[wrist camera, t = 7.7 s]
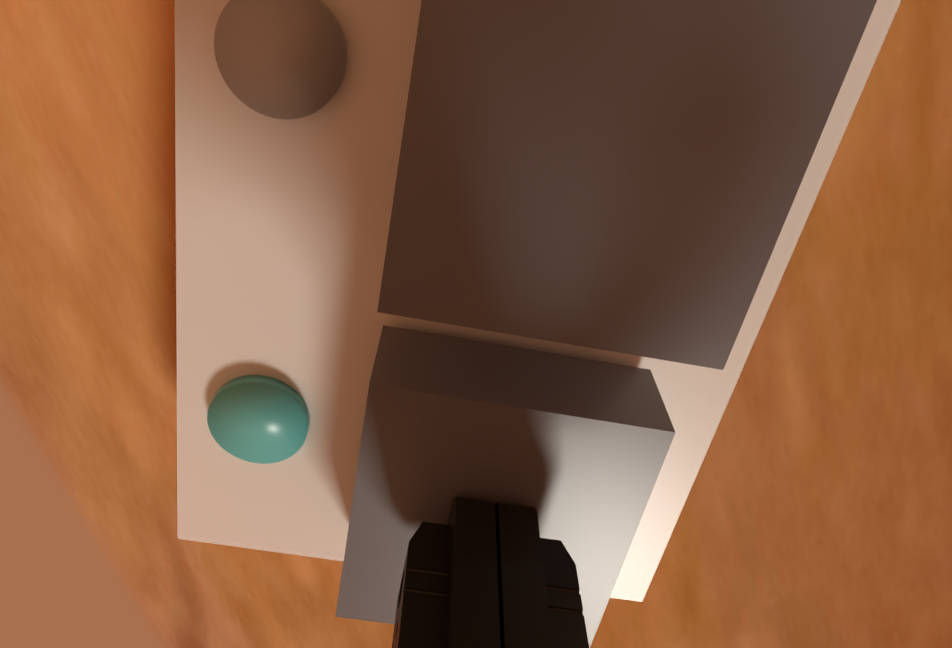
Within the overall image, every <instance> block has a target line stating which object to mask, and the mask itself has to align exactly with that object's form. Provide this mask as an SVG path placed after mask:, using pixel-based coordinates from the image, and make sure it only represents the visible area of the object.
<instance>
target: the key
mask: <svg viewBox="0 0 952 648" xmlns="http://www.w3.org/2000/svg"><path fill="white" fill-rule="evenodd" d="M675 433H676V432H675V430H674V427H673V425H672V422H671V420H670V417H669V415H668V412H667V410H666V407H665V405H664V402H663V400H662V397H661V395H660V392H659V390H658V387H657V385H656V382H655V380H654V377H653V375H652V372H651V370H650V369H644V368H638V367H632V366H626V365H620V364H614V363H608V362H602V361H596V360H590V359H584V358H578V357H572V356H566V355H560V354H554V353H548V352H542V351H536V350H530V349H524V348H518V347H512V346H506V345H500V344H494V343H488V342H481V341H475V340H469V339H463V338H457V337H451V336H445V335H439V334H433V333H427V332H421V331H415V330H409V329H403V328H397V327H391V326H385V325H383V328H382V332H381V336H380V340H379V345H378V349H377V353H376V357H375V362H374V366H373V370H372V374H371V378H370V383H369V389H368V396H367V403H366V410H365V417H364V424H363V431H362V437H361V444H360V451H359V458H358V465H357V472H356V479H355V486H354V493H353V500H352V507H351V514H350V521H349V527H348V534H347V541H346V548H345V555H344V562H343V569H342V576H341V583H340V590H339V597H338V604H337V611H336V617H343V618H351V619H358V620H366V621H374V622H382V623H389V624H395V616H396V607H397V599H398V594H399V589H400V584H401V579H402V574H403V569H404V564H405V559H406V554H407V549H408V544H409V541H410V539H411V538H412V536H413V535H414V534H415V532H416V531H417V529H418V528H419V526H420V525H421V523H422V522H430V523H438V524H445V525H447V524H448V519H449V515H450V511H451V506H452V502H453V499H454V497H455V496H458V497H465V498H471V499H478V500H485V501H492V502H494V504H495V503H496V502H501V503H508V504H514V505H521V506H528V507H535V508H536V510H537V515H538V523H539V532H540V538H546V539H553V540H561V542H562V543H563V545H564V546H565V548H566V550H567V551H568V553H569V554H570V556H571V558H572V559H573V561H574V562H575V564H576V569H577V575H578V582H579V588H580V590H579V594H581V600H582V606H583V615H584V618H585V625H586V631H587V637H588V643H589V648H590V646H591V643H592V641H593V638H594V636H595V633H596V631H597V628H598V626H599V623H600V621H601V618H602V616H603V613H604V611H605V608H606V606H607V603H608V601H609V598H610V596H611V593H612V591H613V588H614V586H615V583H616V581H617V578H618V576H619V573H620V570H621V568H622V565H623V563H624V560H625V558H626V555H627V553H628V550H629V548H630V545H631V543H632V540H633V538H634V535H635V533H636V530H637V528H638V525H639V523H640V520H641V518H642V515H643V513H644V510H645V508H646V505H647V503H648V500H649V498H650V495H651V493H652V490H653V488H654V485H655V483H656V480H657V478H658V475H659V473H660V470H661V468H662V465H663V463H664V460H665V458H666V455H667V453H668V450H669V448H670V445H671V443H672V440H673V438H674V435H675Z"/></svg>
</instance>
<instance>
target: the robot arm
mask: <svg viewBox="0 0 952 648" xmlns="http://www.w3.org/2000/svg"><path fill="white" fill-rule="evenodd" d="M579 590H580V588H579V582H578V575H577V569H576V564H575V562H574V561H573V559H572V558H571V556H570V554H569V553H568V551H567V550H566V548H565V546H564V545H563V543H562V542H561V540H553V539H546V538H540V532H539V523H538V515H537V510H536V508H535V507H528V506H521V505H514V504H508V503H501V502H496V503H495V504H494V502H492V501H485V500H478V499H471V498H465V497H458V496H455V497H454V499H453V502H452V506H451V511H450V515H449V519H448V524H447V525H445V524H438V523H430V522H422V523H421V525H420V526H419V528H418V529H417V531H416V532H415V534H414V535H413V536H412V538H411V539H410V541H409V544H408V549H407V554H406V559H405V564H404V569H403V574H402V579H401V584H400V589H399V594H398V599H397V607H396V616H395V625H394V634H393V642H392V648H589V643H588V637H587V631H586V625H585V618H584V615H583V606H582V600H581V594H579Z"/></svg>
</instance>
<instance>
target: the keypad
mask: <svg viewBox="0 0 952 648" xmlns="http://www.w3.org/2000/svg"><path fill="white" fill-rule="evenodd" d="M421 1H422V0H175V169H176V339H177V510H178V539H184V540H191V541H198V542H206V543H213V544H220V545H228V546H235V547H242V548H250V549H257V550H264V551H272V552H279V553H286V554H294V555H301V556H309V557H316V558H323V559H331V560H338V561H344V555H345V548H346V541H347V534H348V527H349V521H350V514H351V507H352V500H353V493H354V486H355V479H356V472H357V465H358V458H359V451H360V444H361V437H362V431H363V424H364V417H365V410H366V403H367V396H368V389H369V383H370V378H371V374H372V370H373V366H374V362H375V357H376V353H377V349H378V345H379V340H380V336H381V332H382V328H383V325H385V326H391V327H397V328H403V329H409V330H415V331H421V332H427V333H433V334H439V335H445V336H451V337H457V338H463V339H469V340H475V341H481V342H488V343H494V344H500V345H506V346H512V347H518V348H524V349H530V350H536V351H542V352H548V353H554V354H560V355H566V356H572V357H578V358H584V359H590V360H596V361H602V362H608V363H614V364H620V365H626V366H632V367H638V368H644V369H650V370H651V372H652V375H653V377H654V380H655V382H656V385H657V387H658V390H659V392H660V395H661V397H662V400H663V402H664V405H665V407H666V410H667V412H668V415H669V417H670V420H671V422H672V425H673V427H674V430H675V432H676V433H675V435H674V438H673V440H672V443H671V445H670V448H669V450H668V453H667V455H666V458H665V460H664V463H663V465H662V468H661V470H660V473H659V475H658V478H657V480H656V483H655V485H654V488H653V490H652V493H651V495H650V498H649V500H648V503H647V505H646V508H645V510H644V513H643V515H642V518H641V520H640V523H639V525H638V528H637V530H636V533H635V535H634V538H633V540H632V543H631V545H630V548H629V550H628V553H627V555H626V558H625V560H624V563H623V565H622V568H621V570H620V573H619V576H618V578H617V581H616V583H615V586H614V588H613V591H612V593H611V596H610V598H617V599H625V600H632V601H639V602H642V601H643V599H644V596H645V594H646V592H647V589H648V587H649V585H650V582H651V580H652V578H653V576H654V573H655V571H656V569H657V566H658V564H659V562H660V559H661V557H662V555H663V552H664V550H665V548H666V545H667V543H668V541H669V538H670V536H671V534H672V531H673V529H674V527H675V524H676V522H677V520H678V517H679V515H680V513H681V511H682V508H683V506H684V504H685V501H686V499H687V497H688V494H689V492H690V490H691V487H692V485H693V483H694V480H695V478H696V476H697V473H698V471H699V469H700V466H701V464H702V462H703V459H704V457H705V455H706V452H707V450H708V448H709V445H710V443H711V441H712V439H713V436H714V434H715V432H716V429H717V427H718V425H719V422H720V420H721V418H722V415H723V413H724V411H725V408H726V406H727V404H728V401H729V399H730V397H731V394H732V392H733V390H734V387H735V385H736V383H737V380H738V378H739V376H740V374H741V371H742V369H743V367H744V364H745V362H746V360H747V357H748V355H749V353H750V350H751V348H752V346H753V343H754V341H755V339H756V336H757V334H758V332H759V329H760V327H761V325H762V322H763V320H764V318H765V315H766V313H767V311H768V309H769V306H770V304H771V302H772V299H773V297H774V295H775V292H776V290H777V288H778V285H779V283H780V281H781V278H782V276H783V274H784V271H785V269H786V267H787V264H788V262H789V260H790V257H791V255H792V253H793V250H794V248H795V246H796V244H797V241H798V239H799V237H800V234H801V232H802V230H803V227H804V225H805V223H806V220H807V218H808V216H809V213H810V211H811V209H812V206H813V204H814V202H815V199H816V197H817V195H818V192H819V190H820V188H821V185H822V183H823V181H824V178H825V176H826V174H827V172H828V169H829V167H830V165H831V162H832V160H833V158H834V155H835V153H836V151H837V148H838V146H839V144H840V141H841V139H842V137H843V134H844V132H845V130H846V127H847V125H848V123H849V120H850V118H851V116H852V113H853V111H854V109H855V107H856V104H857V102H858V100H859V97H860V95H861V93H862V90H863V88H864V86H865V83H866V81H867V79H868V76H869V74H870V72H871V69H872V67H873V65H874V62H875V60H876V58H877V55H878V53H879V51H880V48H881V46H882V44H883V42H884V39H885V37H886V35H887V32H888V30H889V28H890V25H891V23H892V21H893V18H894V16H895V14H896V11H897V9H898V7H899V4H900V2H901V0H877V2H876V4H875V7H874V9H873V11H872V14H871V16H870V19H869V21H868V23H867V26H866V28H865V31H864V33H863V35H862V38H861V40H860V43H859V45H858V47H857V50H856V52H855V55H854V57H853V60H852V62H851V64H850V67H849V69H848V72H847V74H846V76H845V79H844V81H843V84H842V86H841V88H840V91H839V93H838V96H837V98H836V100H835V103H834V105H833V108H832V110H831V112H830V115H829V117H828V120H827V122H826V124H825V127H824V129H823V132H822V134H821V136H820V139H819V141H818V144H817V146H816V148H815V151H814V153H813V156H812V158H811V160H810V163H809V165H808V168H807V170H806V172H805V175H804V177H803V180H802V182H801V184H800V187H799V189H798V192H797V194H796V196H795V199H794V201H793V204H792V206H791V208H790V211H789V213H788V216H787V218H786V220H785V223H784V225H783V228H782V230H781V232H780V235H779V237H778V240H777V242H776V244H775V247H774V249H773V252H772V254H771V257H770V259H769V261H768V264H767V266H766V269H765V271H764V273H763V276H762V278H761V281H760V283H759V285H758V288H757V290H756V293H755V295H754V297H753V300H752V302H751V305H750V307H749V309H748V312H747V314H746V317H745V319H744V321H743V324H742V326H741V329H740V331H739V333H738V336H737V338H736V341H735V343H734V345H733V348H732V350H731V353H730V355H729V357H728V360H727V362H726V365H725V367H724V369H723V370H720V369H714V368H708V367H702V366H696V365H690V364H684V363H678V362H672V361H666V360H660V359H654V358H648V357H642V356H636V355H630V354H624V353H618V352H612V351H606V350H600V349H594V348H588V347H582V346H576V345H571V344H565V343H559V342H553V341H547V340H541V339H535V338H529V337H523V336H517V335H511V334H505V333H499V332H493V331H487V330H481V329H475V328H469V327H463V326H457V325H451V324H445V323H439V322H433V321H427V320H421V319H415V318H409V317H403V316H397V315H392V314H386V313H380V312H377V310H378V303H379V296H380V289H381V282H382V275H383V268H384V261H385V254H386V247H387V240H388V233H389V226H390V219H391V212H392V205H393V198H394V191H395V184H396V177H397V170H398V163H399V156H400V149H401V142H402V135H403V128H404V121H405V114H406V107H407V100H408V93H409V86H410V79H411V72H412V65H413V58H414V50H415V43H416V36H417V29H418V22H419V15H420V8H421Z"/></svg>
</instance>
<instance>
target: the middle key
mask: <svg viewBox="0 0 952 648" xmlns="http://www.w3.org/2000/svg"><path fill="white" fill-rule="evenodd" d="M876 2H877V0H422V1H421V8H420V15H419V22H418V29H417V36H416V43H415V50H414V58H413V65H412V72H411V79H410V86H409V93H408V100H407V107H406V114H405V121H404V128H403V135H402V142H401V149H400V156H399V163H398V170H397V177H396V184H395V191H394V198H393V205H392V212H391V219H390V226H389V233H388V240H387V247H386V254H385V261H384V268H383V275H382V282H381V289H380V296H379V303H378V310H377V312H380V313H386V314H392V315H397V316H403V317H409V318H415V319H421V320H427V321H433V322H439V323H445V324H451V325H457V326H463V327H469V328H475V329H481V330H487V331H493V332H499V333H505V334H511V335H517V336H523V337H529V338H535V339H541V340H547V341H553V342H559V343H565V344H571V345H576V346H582V347H588V348H594V349H600V350H606V351H612V352H618V353H624V354H630V355H636V356H642V357H648V358H654V359H660V360H666V361H672V362H678V363H684V364H690V365H696V366H702V367H708V368H714V369H720V370H723V369H724V367H725V365H726V362H727V360H728V357H729V355H730V353H731V350H732V348H733V345H734V343H735V341H736V338H737V336H738V333H739V331H740V329H741V326H742V324H743V321H744V319H745V317H746V314H747V312H748V309H749V307H750V305H751V302H752V300H753V297H754V295H755V293H756V290H757V288H758V285H759V283H760V281H761V278H762V276H763V273H764V271H765V269H766V266H767V264H768V261H769V259H770V257H771V254H772V252H773V249H774V247H775V244H776V242H777V240H778V237H779V235H780V232H781V230H782V228H783V225H784V223H785V220H786V218H787V216H788V213H789V211H790V208H791V206H792V204H793V201H794V199H795V196H796V194H797V192H798V189H799V187H800V184H801V182H802V180H803V177H804V175H805V172H806V170H807V168H808V165H809V163H810V160H811V158H812V156H813V153H814V151H815V148H816V146H817V144H818V141H819V139H820V136H821V134H822V132H823V129H824V127H825V124H826V122H827V120H828V117H829V115H830V112H831V110H832V108H833V105H834V103H835V100H836V98H837V96H838V93H839V91H840V88H841V86H842V84H843V81H844V79H845V76H846V74H847V72H848V69H849V67H850V64H851V62H852V60H853V57H854V55H855V52H856V50H857V47H858V45H859V43H860V40H861V38H862V35H863V33H864V31H865V28H866V26H867V23H868V21H869V19H870V16H871V14H872V11H873V9H874V7H875V4H876Z"/></svg>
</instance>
